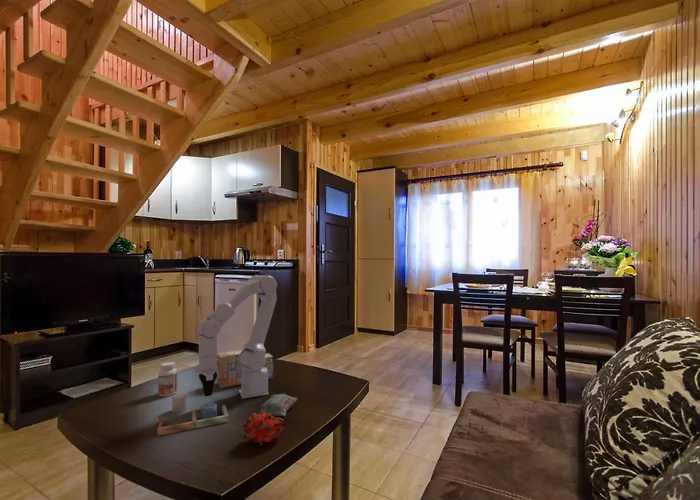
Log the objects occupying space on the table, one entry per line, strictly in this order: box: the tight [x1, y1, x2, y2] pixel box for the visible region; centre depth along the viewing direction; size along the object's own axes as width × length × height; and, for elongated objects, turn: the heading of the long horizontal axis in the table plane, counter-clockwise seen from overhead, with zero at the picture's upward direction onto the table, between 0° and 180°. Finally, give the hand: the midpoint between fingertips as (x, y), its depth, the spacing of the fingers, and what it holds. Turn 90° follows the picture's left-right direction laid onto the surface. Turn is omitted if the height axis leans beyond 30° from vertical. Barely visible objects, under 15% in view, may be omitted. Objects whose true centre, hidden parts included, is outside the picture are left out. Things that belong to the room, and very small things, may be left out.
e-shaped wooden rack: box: [157, 404, 229, 437], centre depth 106 cm, size 19×9×2 cm, turn 116°
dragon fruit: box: [241, 412, 287, 447], centre depth 94 cm, size 8×8×12 cm
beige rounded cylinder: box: [171, 393, 188, 414], centre depth 114 cm, size 4×4×4 cm
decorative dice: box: [202, 402, 218, 419], centre depth 108 cm, size 4×4×4 cm
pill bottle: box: [157, 361, 178, 397], centre depth 129 cm, size 6×6×11 cm
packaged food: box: [259, 393, 298, 417], centre depth 113 cm, size 9×12×5 cm
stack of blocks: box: [216, 349, 274, 389], centre depth 142 cm, size 21×6×12 cm, turn 120°
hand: (208, 395), depth 117 cm, fingers closed
